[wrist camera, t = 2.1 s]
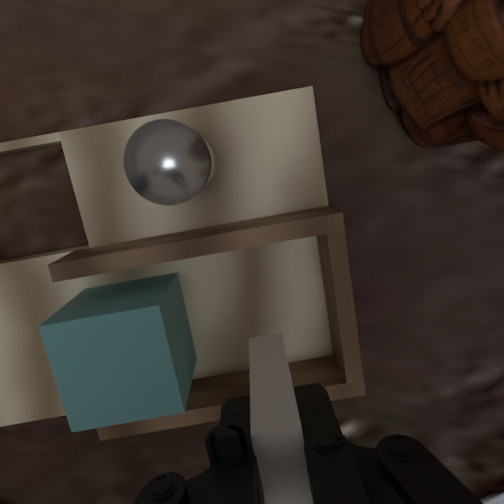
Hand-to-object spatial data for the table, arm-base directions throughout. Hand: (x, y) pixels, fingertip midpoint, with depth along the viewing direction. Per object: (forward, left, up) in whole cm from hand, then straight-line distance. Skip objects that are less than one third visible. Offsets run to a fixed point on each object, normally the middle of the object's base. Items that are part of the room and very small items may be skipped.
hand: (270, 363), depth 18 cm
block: (-8, 0, -8) cm, 11 cm away
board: (-9, +3, -10) cm, 13 cm away
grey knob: (-3, +9, -8) cm, 13 cm away
